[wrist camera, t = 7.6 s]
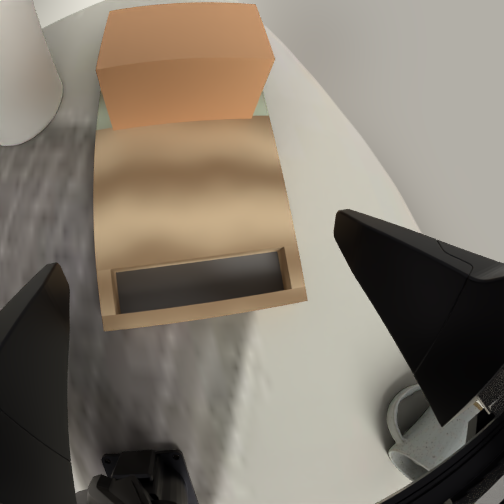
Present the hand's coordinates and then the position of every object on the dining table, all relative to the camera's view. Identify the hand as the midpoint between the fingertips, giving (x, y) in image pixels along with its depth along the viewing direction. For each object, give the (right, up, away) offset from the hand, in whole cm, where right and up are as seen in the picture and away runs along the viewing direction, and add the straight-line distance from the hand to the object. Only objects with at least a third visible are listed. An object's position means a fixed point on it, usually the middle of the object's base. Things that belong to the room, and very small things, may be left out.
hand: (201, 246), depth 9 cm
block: (-4, +13, +13) cm, 19 cm away
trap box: (-4, +9, +15) cm, 17 cm away
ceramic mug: (+17, -18, +14) cm, 28 cm away
